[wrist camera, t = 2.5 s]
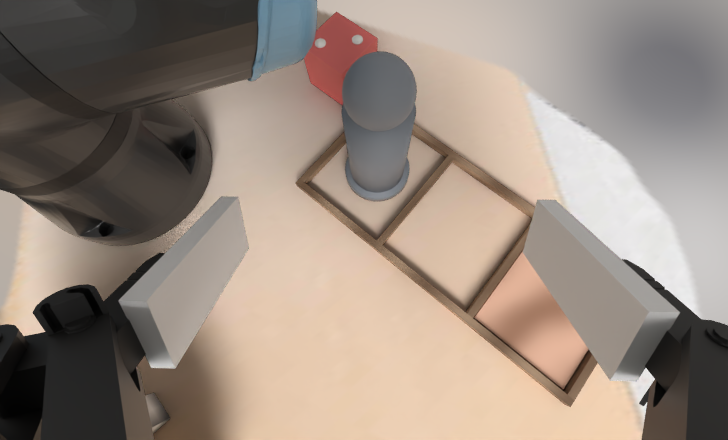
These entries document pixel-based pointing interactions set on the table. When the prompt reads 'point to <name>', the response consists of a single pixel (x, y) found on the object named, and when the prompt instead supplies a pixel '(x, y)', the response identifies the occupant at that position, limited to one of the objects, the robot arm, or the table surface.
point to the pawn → (378, 124)
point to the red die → (336, 53)
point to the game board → (493, 289)
